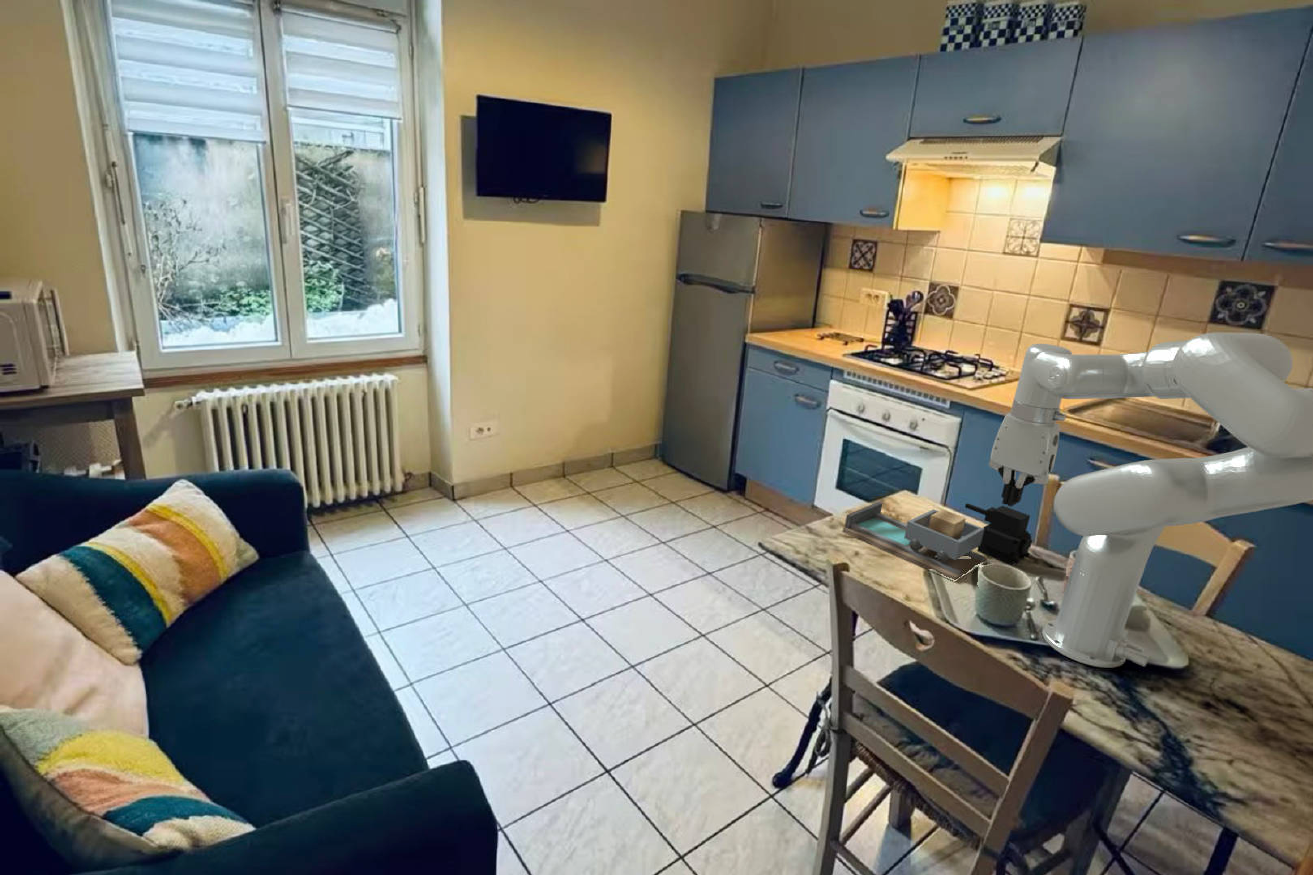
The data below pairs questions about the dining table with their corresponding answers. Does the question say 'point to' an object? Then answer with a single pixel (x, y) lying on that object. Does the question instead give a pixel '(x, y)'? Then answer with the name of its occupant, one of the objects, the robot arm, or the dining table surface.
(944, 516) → the block
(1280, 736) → the dining table surface
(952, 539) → the cart
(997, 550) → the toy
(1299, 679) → the dining table surface
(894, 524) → the track
